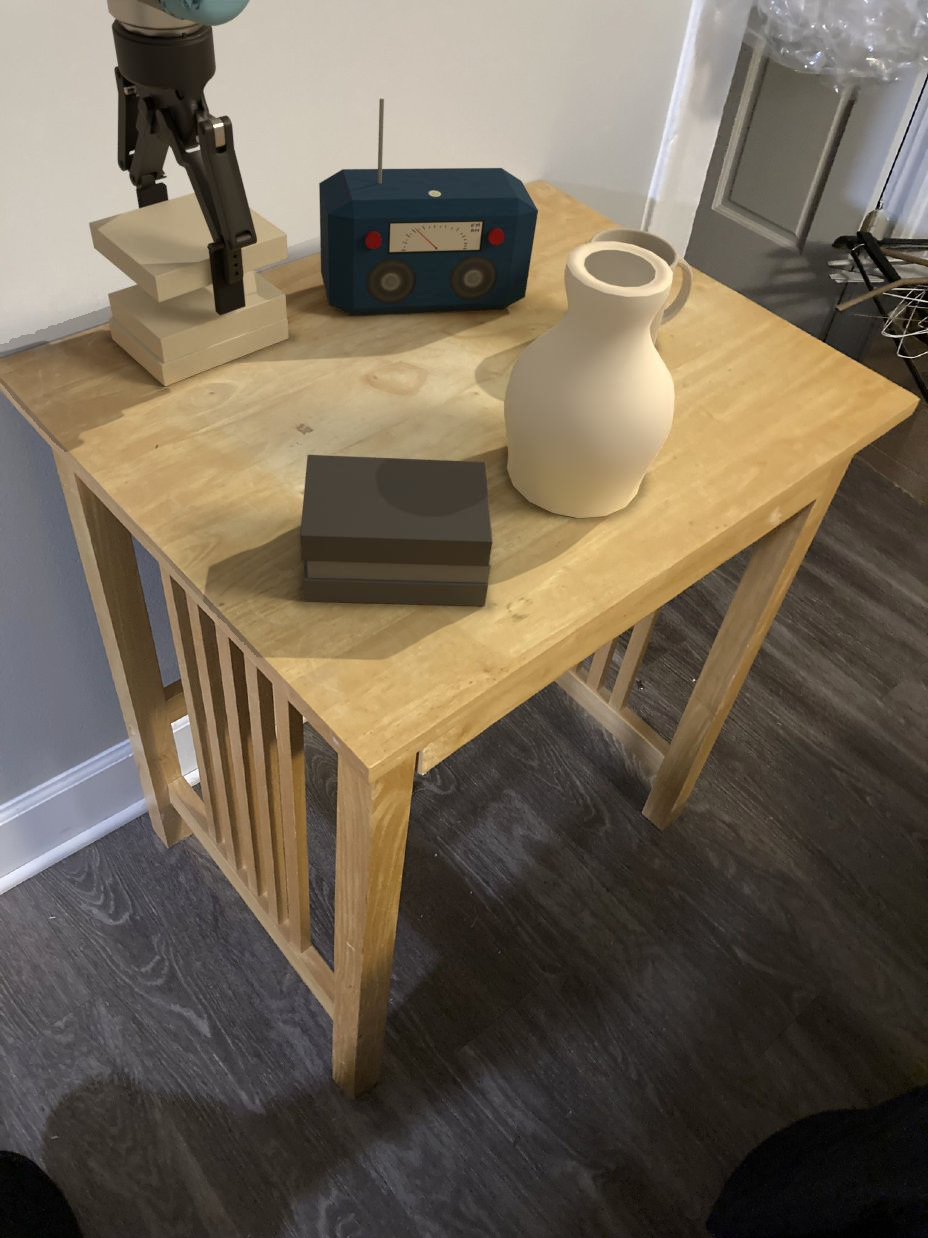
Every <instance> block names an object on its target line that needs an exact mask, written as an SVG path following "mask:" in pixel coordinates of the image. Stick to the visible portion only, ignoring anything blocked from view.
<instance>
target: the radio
mask: <svg viewBox="0 0 928 1238" xmlns="http://www.w3.org/2000/svg"><path fill="white" fill-rule="evenodd" d="M378 108H379V109H378V144H377V145H378V148H377V151H378V152H377V168H342V169H341V170H339V171H337V172H335V173H334V174H332V175H330V176H329V177H327V178H325V179H323V180H322V181H320V182H319V183H318V187H319V188H318V190H319V191H318V193H319V194H318V195H319V237H320V238H319V239H320V240H319V243H320V244H319V245H320V246H319V247H320V274H321V278H322V282H323V286H324V290H325V294H326V298H327V302H328V305H329V306H331V307H333V308H335V309H337V310H339V311H340V312H343V313H346V315H349V316H352V317H355V316H377V315H379V316H380V315H381V316H383V315H401V314H402V315H403V314H405V315H407V314H427V313H429V314H430V313H431V314H432V313H451V312H452V313H453V312H477V311H479V312H480V311H501V310H504V309H507V308H508V307H510V306H512V305H513V304H516V303H517V302H519V301H521V300H523V299H525V298H526V293H527V287H528V280H529V273H530V266H531V260H532V254H533V247H534V242H535V234H536V229H537V222H538V214H539V210H538V208H537V205H536V204H535V203H534V200H533V199H532V197H531V194H530V193H529V192H528V190H527V187H526V186H525V184H524V183H523V181H522V180H521V179H519V178H518V177H516V176H515V175H513V174H512V173H510V172H509V171H507V170H505V169H504V168H502V167H467V168H466V167H449V168H448V167H446V168H445V167H441V168H440V167H439V168H438V167H437V168H435V167H433V168H383V156H384V155H383V153H384V151H383V146H384V121H385V120H384V117H385V116H384V115H385V113H384V112H385V98H379V105H378Z"/></svg>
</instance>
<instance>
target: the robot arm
mask: <svg viewBox="0 0 928 1238" xmlns="http://www.w3.org/2000/svg"><path fill="white" fill-rule="evenodd" d="M250 1H251V0H106V4H107V11H108V13H109V15H111V16H112V17H113V18H114V21H112V22H113V23H112V24H111V31H112V37H113V44H114V49H115V54H116V62H117V66H115V67H114V78H115V83H116V89H117V158H116V159H117V165H118V168H119V169H120V170H121V171H122V172H128V173H129V174H128V177H129V180H130V183H131V184H132V186H134V187H135V192H136V193H135V194H136V199H137V205H138V209H139V208H143V207H146V206H150V205H153V204H157V203H160V202H164V201H167V200H170V199H169V194H168V193H169V191H168V186H167V184H165V182H163V181H161V182H158V183H156V181H160V180H163V179H166V178H168V175H166V173H165V171H164V165H165V162H166V158H167V155H168V151H169V148H170V149H171V151H172V154H173V156H174V159H175V161H176V163H177V165H178V166H180V167H182V168H184V170H185V172H186V174H187V177H188V179H189V183H190V185H191V187H192V190H193V193H195V195H196V198H197V200H198V203H199V205H200V208H201V211H202V213H203V216H204V218H205V221H206V223H207V226H208V229H209V231H210V234H211V236H212V239H213V243H210V244H208V246H207V248H208V249H209V258H210V266H211V275H212V283H213V293H214V302H215V310H216V312H217V313H218V314H219V315H220V316H221V315H223V314H226V313H229V312H232V311H234V310H237V309H240V308H243V307H245V306H246V305H245V294H244V283H243V276H244V273H243V265H242V264H243V262H242V251H241V248H244V247H247V246H250V245H253V244H256V243H257V236H256V232H255V228H254V224H253V220H252V216H251V212H250V209H249V208H250V204H249V201H248V197H247V193H246V189H245V186H244V181H243V177H242V172H241V170H240V165H239V162H238V161H239V160H238V157H237V153H236V150H235V149H236V148H235V140H234V130H233V129H234V128H233V123H232V121H231V120H232V119H231V118H230V117H229V116H228V115H227V114H226V115H222V116H218V117H216V116H214V115H213V114H211V113H210V110H209V109H210V108H209V106H208V103H207V100H206V96H205V88H206V86H207V84H208V83H209V82H210V80H212V79H213V77H214V76H215V74H216V71H217V64H216V63H217V62H216V54H215V44H214V31H213V27H218V26H221V25H225V24H227V23H229V22H231V21H233V20H234V19H236V18H237V17H238V16H239V15H240V14H241V13H242V12H244V10H245V8H246V7H247V6H248V4H249V3H250ZM198 147H199V149H197V150H193V151H188V150H192V149H196V148H198ZM131 152H133V153H131Z"/></svg>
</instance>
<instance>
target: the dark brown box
mask: <svg viewBox="0 0 928 1238" xmlns="http://www.w3.org/2000/svg"><path fill="white" fill-rule="evenodd" d="M304 479H305V480H304V489H303V500H302V511H301V522H300V532H299V533H300V534H299V538H300V539H299V540H300V541H299V542H300V543H299V544H300V560H301V561H302V562H303V566H302V567H303V568H302V579H301V583H302V601H303V602H322V603H358V604H392V605H393V604H396V605H397V604H398V605H427V606H429V605H430V606H431V605H434V606H465V607H466V606H470V607H471V606H472V607H485V606H486V601H487V595H488V590H489V581H490V575H491V567H492V559H491V554H492V548H493V533H492V532H493V531H492V522H491V521H492V520H491V512H490V501H489V490H488V478H487V469H486V462H485V461H466V460H448V459H447V460H446V459H445V460H443V459H423V458H422V459H419V458H398V457H397V458H395V457H377V456H376V457H374V456H372V457H371V456H351V455H350V456H349V455H325V454H307V457H306V470H305V478H304Z"/></svg>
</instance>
